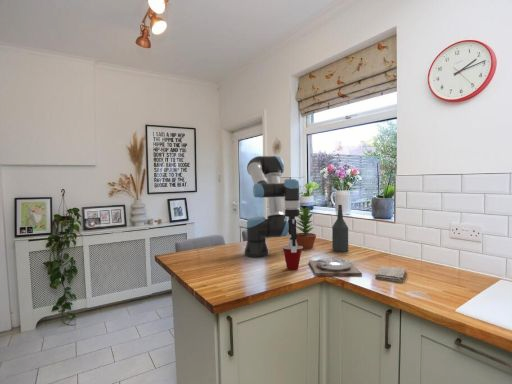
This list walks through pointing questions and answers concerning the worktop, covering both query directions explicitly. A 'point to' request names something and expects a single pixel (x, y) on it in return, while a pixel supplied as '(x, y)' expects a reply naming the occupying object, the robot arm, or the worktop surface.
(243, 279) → the worktop surface
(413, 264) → the worktop surface
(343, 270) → the mount board
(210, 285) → the worktop surface
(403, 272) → the washcloth
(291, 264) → the plastic cup
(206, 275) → the worktop surface
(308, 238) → the potted plant
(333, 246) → the bottle
